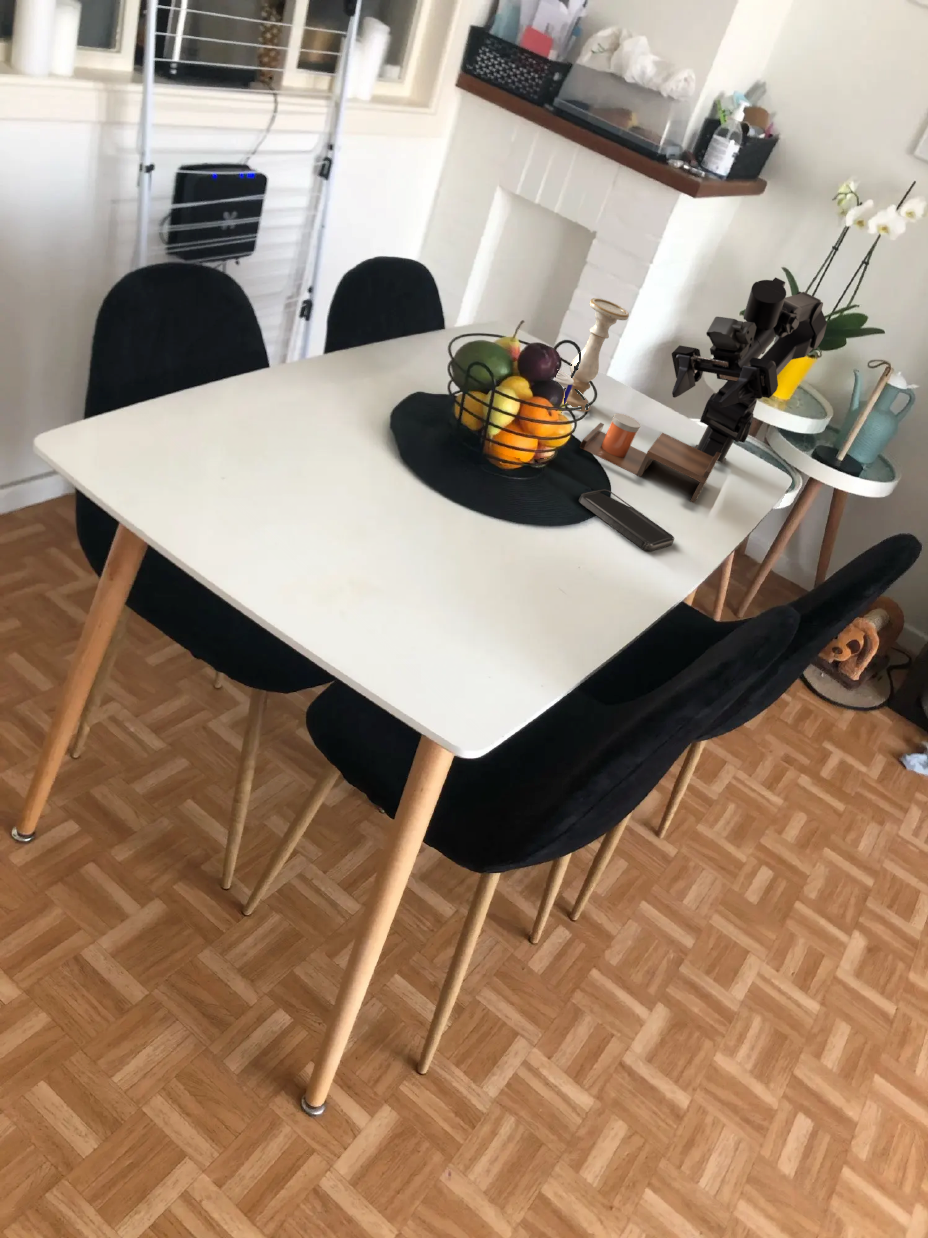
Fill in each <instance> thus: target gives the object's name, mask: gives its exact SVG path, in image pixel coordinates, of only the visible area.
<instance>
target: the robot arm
mask: <svg viewBox="0 0 928 1238" xmlns="http://www.w3.org/2000/svg"><path fill="white" fill-rule="evenodd" d="M785 286H786V281H784V280H782V279H780V278H778V277H774V278H773V279H762V280H757V281H755V282H754V283H753V284H752V286H751V289H750V293H749V295H748V299H747V303H746V306H745V308H744V309H745V310H744V313H743V320H744V321H742V320H737V319H736V318H733V317H724V316H715V317H714V318H713V320H712V321H711V323H710V325H709V328H707V331H706V336H707V337H708V338H709V340H710V342H711V344H712V346H711V347H710V348H709V351H710V355H711V356H712V358H711V357H704V356H702V355H701V350H700V349H699V348H697V347H692V346H686V345H680V344H679V345H678V346H677V347H676V348H675V349H674V350H673V352H671V359H672V364H673V369H674V374H675V379H676V380H675V382H674V384H673V385H674V386H673V389H672V391H671V394H672V395H671V396H672V398H677V397H680V396H681V395H683V394H684V393H686V392H688V391H690V390H691V389H692V388H695V386H696V383H697V382H699V381H700V380H701V379H702V377H703V373H708V374H714V375H716V379H717V380H721V381H722V380H723V381H726V382H725V383H724V384H723V386H721V387H720V388H719V389H718V391H716V392H714V393H713V394H711V395H710V396H709V398H708V400H707V401H706V404H705V407H704V409H703V411H702V414H701V416H700V420H699V422H700V423H702V424H704V425H707V426H706V428H705V430H704V432H703V434H702V435H701V438H700V440H699V442H698V444H696V445H695V446H694V448H696V449H698V450H700V451H702V452H704V453H706V454H708V455H710V456H712V457H714V456H715V454H716V452H719V453H721V455H720V457H719V458H718V460H717V462H720V463H722V464H725V463H726V461H727V458H726V456H727V455H728V453H729V451H730V449H731V447H732V445H733V444H734V442H735V443H746V441H747V438H748V437H749V436H750V435H749V434H750V431H751V430H752V425H753V420H754V415H755V414H754V411H755V408H756V405H757V402H758V400H761V399H762V398H766V399H770V398H771V397H773V396H774V394H775V393H776V392H777V390H778V387H779V382H778V380H779V379H778V375H779V374H781V372H782V371H783V370H784V369H785V367H787V365H788V364H789V363H790V362H791V361H792V360H797V359H802V358H806V357H807V355H808V354H810V352H811V351H812V350H816V349H817V348H818V347H819V345H820V344H821V342H822V341H823V338H824V337H825V333H826V329H827V326H828V321H827V319H826V317H825V314H824V312H823V306H824V302H823V301H822V300H821V299H820V298H818V297H816V296H814V295H811V294H809V293H808V292H806V291H798V292H797V293H796V294H793V295H790V296H787V290H786V287H785ZM772 343H773V344H772ZM771 344H772V345H771ZM770 345H771V346H770ZM767 349H768V350H767ZM766 350H767V351H766ZM760 356H761V357H760Z"/></svg>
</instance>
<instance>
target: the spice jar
mask: <svg viewBox="0 0 928 1238" xmlns="http://www.w3.org/2000/svg"><path fill="white" fill-rule="evenodd" d="M640 428H641V423H640V422H639V421H638V420H637V419H635V418H633V417H632V416H630V415H627V414H624V413H614V415H613V417H612V418H611V422H610V425H609V427H608V428H607V431H606V432H605V434H606V436H605V438H604V440H603V442H602V444H601V446H602V448H603V449H604V450H605V451H606V452H608V453H610V454H612V455H614V456H618V457H625V456H626V455H627V452H628V450H629V448H630V446H632V443H633V442H634V439H635V437H636V436H637V434H638V432H639V431H640Z"/></svg>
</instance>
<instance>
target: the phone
mask: <svg viewBox="0 0 928 1238" xmlns="http://www.w3.org/2000/svg"><path fill="white" fill-rule="evenodd" d="M602 492H608V493H610V494H611V495H613V496H614V497H616V498H617V499H618V500H617V499H615V498H613V497H611V496H608V495H606V494H605V493H602ZM619 500H620V501H619ZM578 502H579V503H580V505H582V506H583V507H585V508H586V509H588V510H589V511H590V512H592V513H593V514H594V515H596V516H597V517H599V518H600V519H601V520H603V521H604V523H605V522H606V523H607V524H608V525H609V526H610V527H612V528H613V529H615V530H616V531H617V532H619V533H620V534H622V535H623V536H624V537H626V538H627V539H628V540H630V541H631V542H632V543H634V544H635V545H636V546H637V547H639V548H640V549H642V550H644V551H647V552H654V551H657V550H661V549H664V548H667V547H671V546H672V545H673V542H674V541H675V536H674V535H672V533H670V532H668V531H667V530H665V529H664V528H663V527H661V526H660V525H659V524H658V523H655V522H654V521H653V520H652V519H651V518H649V517H647V516H646V515H645V514H643V513H642V512H640V511H639V510H637V509H636V508H635V507H633V506H632V505H631V504H629V503H628V502H627V501H625V500H623V499H622V498H621V497H620V496H618V495H616V494H615V493H614V492H612V491H611V490H609V489H605V488H604V489H597V490H593V491H592V490H591V491H588V492H583V493H581V494H580V496H579V499H578Z"/></svg>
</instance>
